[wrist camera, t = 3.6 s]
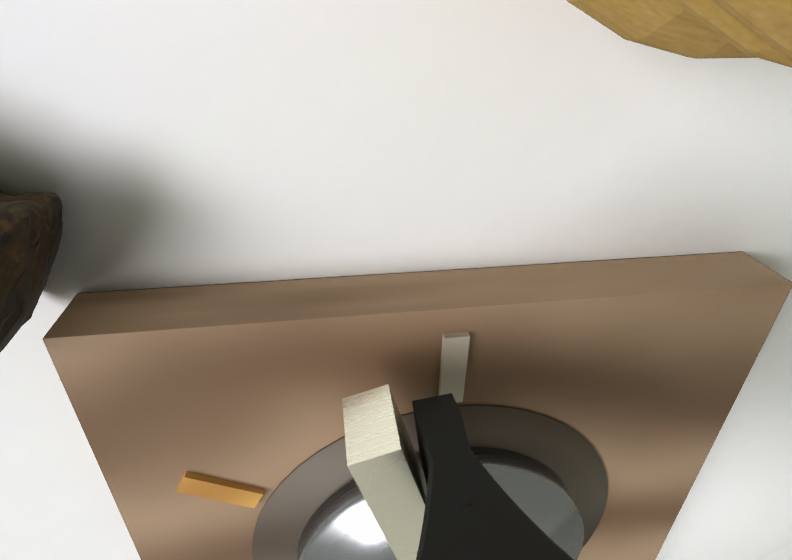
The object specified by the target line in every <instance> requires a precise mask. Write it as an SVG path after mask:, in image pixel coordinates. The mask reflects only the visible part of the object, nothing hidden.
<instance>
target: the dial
mask: <svg viewBox="0 0 792 560" xmlns="http://www.w3.org/2000/svg"><path fill="white" fill-rule="evenodd" d="M342 404H343V417H344V430H345V443H346V456H347V467H348V469H349V471H350V472H351V474H352V476H353V478H354V480H352V481H350V482H349V483H347V484H346V485H344V486H343V487H342V488H340V489H339V490H338V491H336V492H335V493H334V494H332V495H331V496H330V497H329V498H328V499H327V500H326V501H325V502H324V503H323V504H322V505H320V506H319V508H318V509H317V510H316V511H315V513H314V514H313V515H312V516H311V518H310V519H309V521H308V522H307V524H306V526H305V528H304V529H303V531H302V534H301V537H300V540H299V543H298V550H297V560H416V557H417V552H418V547H419V542H420V536H421V530H422V524H423V518H424V511H425V504H426V494H427V485H426V480H425V476H424V471H423V466H422V462H421V457H420V453H418V454H416V451H415V449H414V446H413V444H412V441H411V439H410V436H409V434H408V432H407V429H406V427H405V424H404V422H403V419H402V417H401V414H400V412H399V409H398V407H397V404H396V402H395V399H394V397H393V394H392V392H391V389H390V387H389V384H387V385H384V386H381V387H378V388H375V389H371V390H368V391H365V392H362V393H359V394H356V395H353V396H349V397H346V398H343V399H342ZM470 449H471V450H472V452H473V453H474V454H475V455H476V457H477V458H478V459H479V461H480V462H481V463H482V465H483V466H484V467H485V468H486V470H487V471H488V472H489V473H490V475H491V476H492V477H493V478H494V479H495V481H496V482H497V483H498V484H499V485H500V487H501V488H502V489H503V490H504V491H505V492H506V493H507V495H508V496H509V497H510V498H511V499H512V500H513V501H514V502H515V503H516V504H517V506H518V507H519V508H520V509H521V510H522V511H523V512H524V513H525V514H526V515H527V516H528V517H529V518H530V519H531V520H532V521H533V522H534V523H535V524H536V525H537V526H538V527H539V528H540V529H541V530H542V531H543V532H544V533H545V534H546V535H547V536H548V537H549V538H550V539H551V540H552V541H553V542H555V543H556V544H557V545H558V546H559V547H560V548H561V549H563V550H564V551H565V552H566V553H567V554H568V555H569V556H570V557H572V558H573V559H574V560H577V559H578V557H579V554H580V552H581V549H582V546H583V541H584V525H583V521H582V517H581V515H580V513H579V511H578V509H577V507H576V505H575V503H574V502H573V500H572V498H571V496H570V494H569V492H568V490H567V488H566V486H565V484H564V482H563V481H562V480H561V478H560V477H559V476H558V475H557V474H556V473H555V472H554V471H553V470H552V469H550V468H549V467H548V466H546V465H545V464H543V463H541V462H540V461H538V460H536V459H534V458H532V457H529V456H526V455H523V454H521V453H518V452H513V451H509V450H504V449H498V448H488V447H470Z"/></svg>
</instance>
